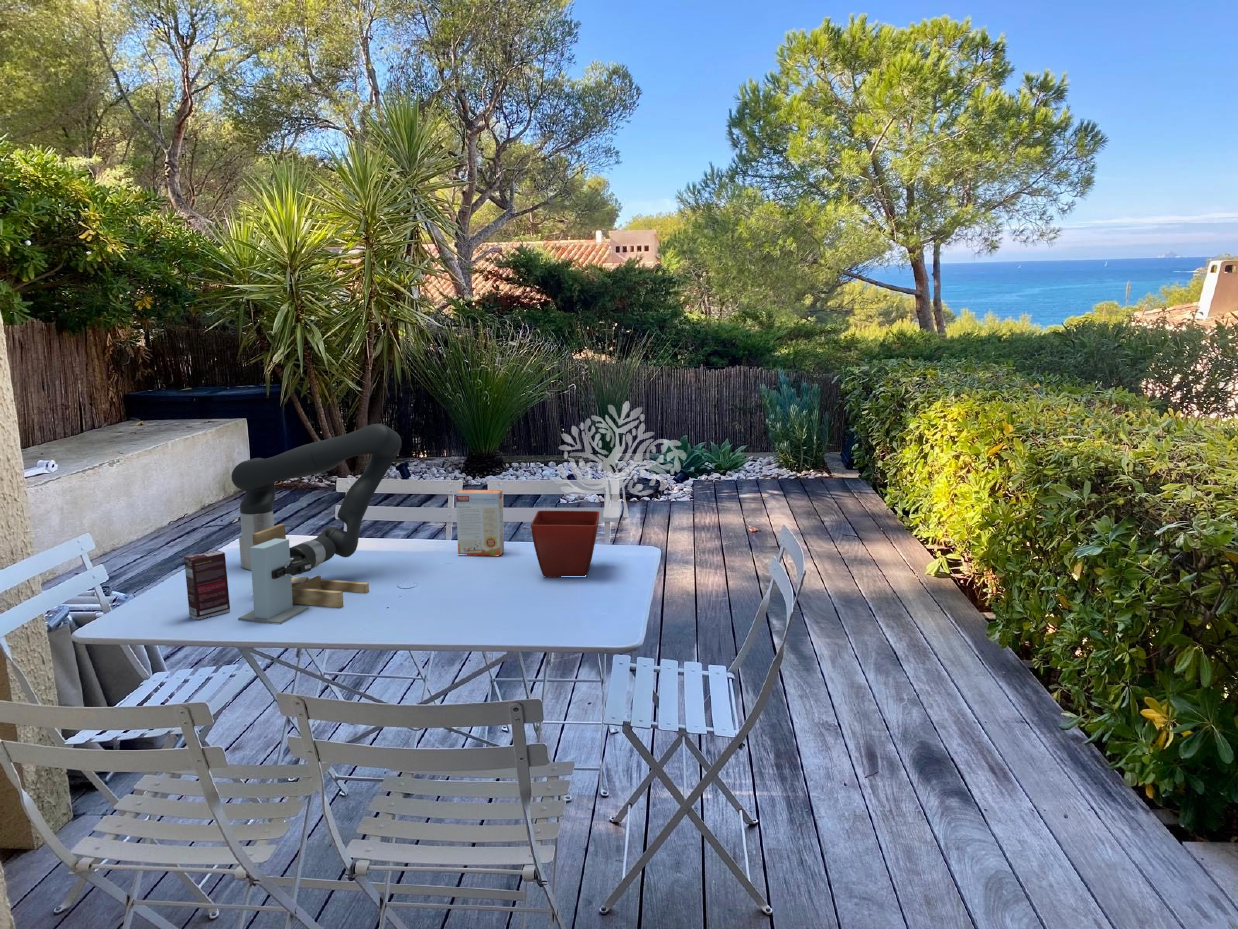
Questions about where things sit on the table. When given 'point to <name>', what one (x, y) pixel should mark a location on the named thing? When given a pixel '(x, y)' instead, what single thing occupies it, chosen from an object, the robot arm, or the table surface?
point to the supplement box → (207, 584)
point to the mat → (277, 618)
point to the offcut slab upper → (298, 580)
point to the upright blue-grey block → (270, 578)
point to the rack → (313, 579)
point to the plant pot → (564, 541)
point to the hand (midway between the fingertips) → (264, 574)
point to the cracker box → (480, 522)
